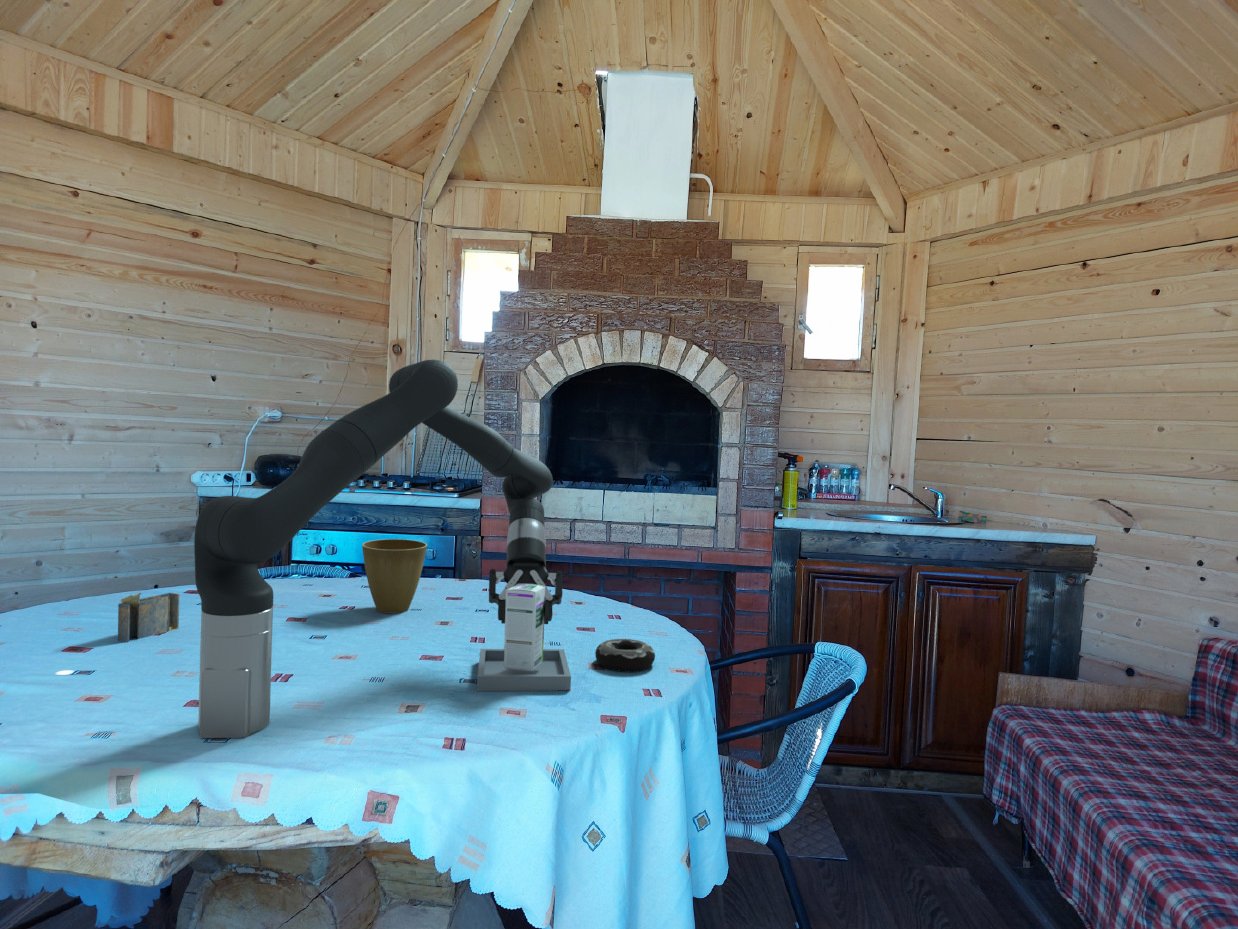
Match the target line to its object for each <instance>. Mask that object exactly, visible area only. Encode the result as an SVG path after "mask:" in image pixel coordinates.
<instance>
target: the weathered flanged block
mask: <svg viewBox="0 0 1238 929" xmlns="http://www.w3.org/2000/svg"><path fill="white" fill-rule="evenodd" d="M141 595H142V592H139V593H138V594H131V595H130V594H129V596H127V597H124V598H121V599H120V603H119V602H118V605H117V606H118V610H117V611H118V612H117V613H118V616H117V641H118V640H119V642H124V643H129V642H130V638H135V637H136V639H137V640H141V639H144V638H148V637H151V636H156V635H159V634H158V633H160V634H163V633H167V632H171V631H175V630H178V629H180V628H179V627H180V623H179V622H180V593H177V592H176V593H174V592H167V593H162V594H156V595H153V596H152V595H151V596H148V597H143V598H141V597H140V596H141ZM162 632H163V633H162ZM155 634H156V635H155ZM140 638H141V639H140Z"/></svg>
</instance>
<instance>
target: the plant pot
mask: <svg viewBox="0 0 1238 929" xmlns="http://www.w3.org/2000/svg"><path fill="white" fill-rule="evenodd" d="M361 546H362V556H363V564H364V568H365V574H366V579H367V583H368V588H369V591H370V594H371V597H372V601H373V603H374V606H375V609H376V611H378V612H380V613H382V614H383V613H384V614H398V613H404V612H406V611H408V610H409V609H410V606H411V604H412V601H413V599H414V597H415V594H416V591H417V589H418V586H419V582H420V579H421V576H422V572H423V568H424V563H425V559H426V558H425V557H426V553H427V547H428V544H427V543H426V542H423V541H419V540H416V539H415V540H414V539H404V538H403V539H402V538H383V539H375V540H374V539H373V540H368V541H365V542H363V543H362V544H361Z"/></svg>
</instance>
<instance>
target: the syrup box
mask: <svg viewBox="0 0 1238 929" xmlns="http://www.w3.org/2000/svg"><path fill="white" fill-rule="evenodd" d="M544 606H545V586H542V585H537V584H516V585H515V586H513V587H511V588H509V589H507V590H506V611H505V624H504V647H503V649H504V667H505V668H509V669H516V670H524V671H534V669H535V668H537V667H538V666H539V665H540V664H541V663H542V662H543V649H544V639H545V638H544V636H545V624H544Z"/></svg>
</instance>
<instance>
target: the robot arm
mask: <svg viewBox="0 0 1238 929" xmlns="http://www.w3.org/2000/svg"><path fill="white" fill-rule="evenodd" d="M388 383H389V384H388V390H389V393H387V394H385V395H384V396H382V397H380V398H377V399H375V400H373V401H371V402H369V403H367V404H365V405H363V406H359V407H358V408H356V409H354V410H353V411H351V412H349V413H348V414H345V415H343V416H342V417H340V418H338V419H337V420H336V421H334V422H333V423H332V424H330V425H329V426H327V427H326V428H325V429H323V430H322V431H320V433H318V434H317V435H316V436H315V437H314V438H313V439H312V440H311V441H310V442H309V443H308V444H307V446H306V447H305V450H304V451H303V454H302V456H301V457H300V461H299V464H297V467H296V468H295V470H294V471H293V472H292V473H291V474H290V475H289V476H288V477H287V478H285V480H283V481H281V483H279V484H277V485H276V486H275V487H274V488H272V489H270V490H268V491H267V492H265V493H264V494H262V495H260V496H258V497H255V498H252V497H245V496H237V495H223V496H222V495H221V496H218V497H216V498H213V499H212V500H210V501H209V502H207V503H206V504H205V505H204V506H203V508H202V509H201V511H200V512H199V515H198V516H197V519H196V524H195V528H194V538H193V540H194V543H193V544H194V546H193V548H194V550H193V551H194V576H195V578H194V579H195V587H196V591H197V593H198V595H199V597H200V603H201V604H200V606H201V607H200V610H201V612H200V613H201V614H200V616H201V617H200V644H199V645H200V649H199V678H198V680H199V685H198V723H197V724H198V725H197V730H198V732H199V738H200V739H217V738H218V739H219V738H221V739H222V738H223V739H224V738H226V739H227V738H235V739H236V738H238V739H239V738H247V737H249V735H251V734H253V733H256V732H258V731H261V730H263V729H265V728H266V727H267V726H268V725H269V724H270V720H271V718H270V717H271V696H272V695H271V691H272V690H271V688H272V687H271V686H272V658H273V655H272V654H273V653H272V652H273V649H272V647H273V624H274V623H273V620H274V616H273V615H274V590H273V587H272V586H271V585H270V584H269V583H268V582H267V581H266V580H265V578H263V577H262V575H261V573H260V572H259V569H258V564H261V563H263V562H267V561H268V560H270V559H272V558H273V557H274V556H276V555H277V554H278V553H280V551H282V550H283V548H285V547H286V546H287V544H289V543H290V542H291V541H292V539H293V538H295V536H296V535H297V534H298V533H299V532H300V531H301V530H302V529H303V528H304V527H305V526H306V524H308V522H309V521H310V520H312V518H313V517H314V516H315V515H316V514H317V513H318V512H319V511H320V510H322V509H323V508H324V507H325V506H326V505H328V504H329V503H330V502H331V501H332V500H334V498H336V497H337V496H338V495H339V494H340V493H342V491H343V490H345V489H346V488H347V487H348V486H350V485H351V484H352V483H353V482H354V481H356V480H358V479H359V478H360V477H361V476H362V475H363V474H365V473H366V472H367V471H369V469H371V468H372V467H373V466H375V464H377V463H378V462H379V460H380V459H381V458H382V457H384V456H385V455H386V454H387V453H389V452H390V451H391V450H392V449H393V448H394V447H396V445H397V444H399V443H400V441H402V440H403V439H404V438H405V437H407V435H408V434H409V433H410V432H412V431H413V430H414V429H415V428H416V427H418V426H419V425H420V424H423V425H425V426H426V427H428V428H430V429H431V430H433V431H434V432H436V433H437V434H439V435H440V436H442V437H444V438H445V439H447V440H449V441H450V442H452V443H453V444H454V445H456V446H457V447H458V448H459V449H461V450H463V451H464V452H465V453H466V454H468V455H469V456H470V457H471V458H472V459H473V460H475V461H476V462H477V463H478V464H480V465H481V466H482V467H483V468H484V469H485V470H486V471H488V472H489V473H490V474H491V475H492V476H494V477H496V478H504V479H503V481H502V486H501V488H502V492H503V496H504V498H505V501H506V502H505V503H506V506H507V509H508V510H507V511H508V513H509V516H508V517H509V518H508V519H509V520H508V532H507V537H506V541H507V542H506V560H505V561H506V562H505V563H506V566H505V569H504V570H503V571H497V570H496V569H495V568H491V569H490V570H489V572H488V574H489V576H488V603H490V604H494V603H495V604H496V605H497V620H498V621H501V623H500V624H504V625H505V611H506V590H507V589H509V588H511V587H513V586H515V585H516V584H537V585H542V586H545V606H544V625H549V622H552V619H553V606H554V605H561V604H562V600H563V599H562V598H563V580H564V578H563V576H564V575H563V571H562V570H557V571H556V572H548V570H547V563H546V562H547V559H546V558H547V557H546V556H547V554H546V553H547V545H546V544H547V542H546V541H547V539H546V532H545V508H544V506H543V504H542V503H541V501H539V500H537V499H536V498H538V497H540V496H542V495H544V494H546V493H548V492H549V491H550V490H551V489H552V487H553V479H554V478H553V475H552V473H551V471H550V469H549V468H548V467H547V465H546V464H545V463H543V461H541V460H539V459H537V458H536V457H534V456H531V455H529V454H527V453H525V452H524V451H521V450H519V449H516V448H515V447H514V446H513V445H512V444H511V443H509V441H508V440H507V439H506V438H504V437H503V436H502V435H501V434H500V433H499V432H498V431H496V430H495V429H494V428H492V427H490V426H489V425H486V424H485V423H483V422H481V421H479V420H476V419H474V418H473V417H470V416H467V415H466V414H463V413H462V412H461V411H458V410H457V409H455V408H453V407H452V406H450V405H451V403H452V401H453V400H454V399H455V397H456V395H457V392H458V385H459V384H458V377H457V373H456V372H455V370H454V368H453V367H452V366H450V364H448V363H447V362H445V361H442V360H438V359H424V360H422V361H418V362H416V363H411V364H409V365H406V366H402V367H401V368H399V369H398V370H396V371H395V372H393V374H392V375H391V377H390V379H389V382H388ZM501 580H504V582H505V584H506V585H505V586H504V588H503V590H502V591H501V592H500V594H499V593H496V591H497V588H496V586H497V585H498V584H500V582H501ZM548 580H549V581H550V582H551V584H552V586H554V594H551V592H550V591H549V590H548V587H547V585H546V583H547V582H548Z"/></svg>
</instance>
